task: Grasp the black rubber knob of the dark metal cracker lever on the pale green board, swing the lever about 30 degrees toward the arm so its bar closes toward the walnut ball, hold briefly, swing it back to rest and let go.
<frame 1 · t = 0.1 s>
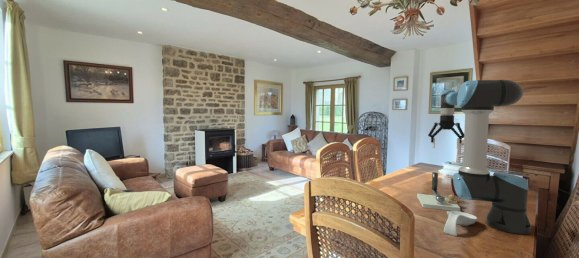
hand: (445, 148, 161), 28 cm above the table, fingers open, 13 cm apart
spoon rest: (457, 227, 112), on the table
board: (436, 203, 140), on the table
lever: (437, 185, 140), point 10 cm above the table, hinge at 0.0°
mug: (460, 196, 154), on the table
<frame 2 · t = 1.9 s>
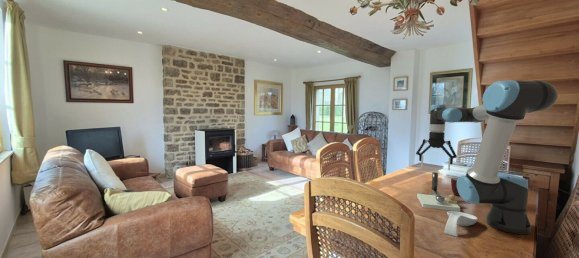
hand: (435, 168, 146), 18 cm above the table, fingers open, 13 cm apart
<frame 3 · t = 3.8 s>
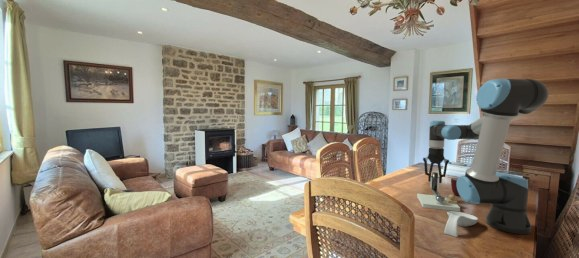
hand: (434, 187, 146), 7 cm above the table, fingers closed on lever, 3 cm apart
lever: (437, 185, 140), point 10 cm above the table, hinge at 0.0°, touching gripper
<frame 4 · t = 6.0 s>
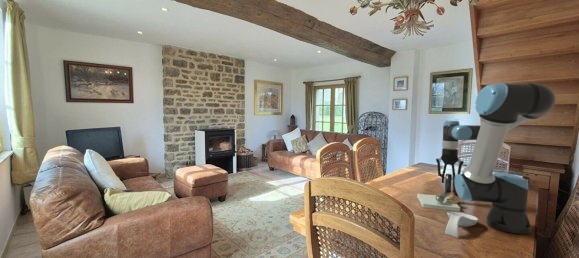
hand: (448, 189, 143), 7 cm above the table, fingers closed on lever, 3 cm apart
lever: (444, 186, 138), point 10 cm above the table, hinge at -29.4°, touching gripper
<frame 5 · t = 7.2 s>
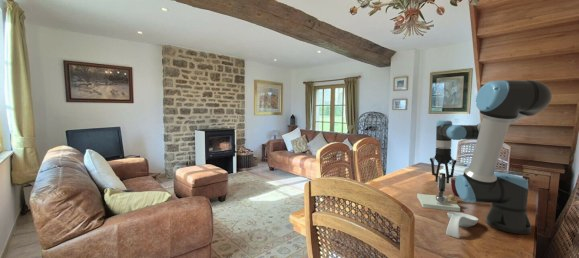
hand: (441, 188, 145), 7 cm above the table, fingers closed on lever, 3 cm apart
lever: (441, 186, 139), point 10 cm above the table, hinge at -16.1°, touching gripper
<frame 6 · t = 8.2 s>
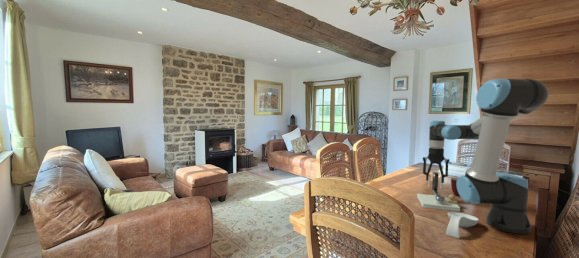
hand: (434, 187, 146), 7 cm above the table, fingers open, 5 cm apart
lever: (437, 185, 140), point 10 cm above the table, hinge at -0.9°
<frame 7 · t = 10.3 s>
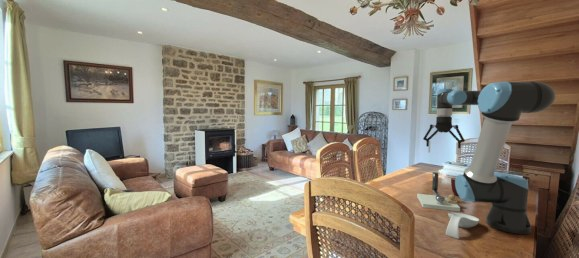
hand: (442, 153, 145), 27 cm above the table, fingers open, 13 cm apart
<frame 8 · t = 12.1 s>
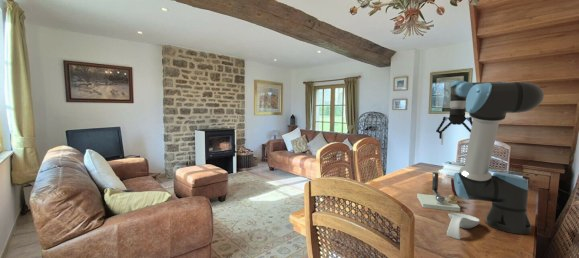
hand: (455, 145, 146), 32 cm above the table, fingers open, 13 cm apart
at the end: lever at -1° (first picture: +0°); the gripper is holding nothing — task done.
